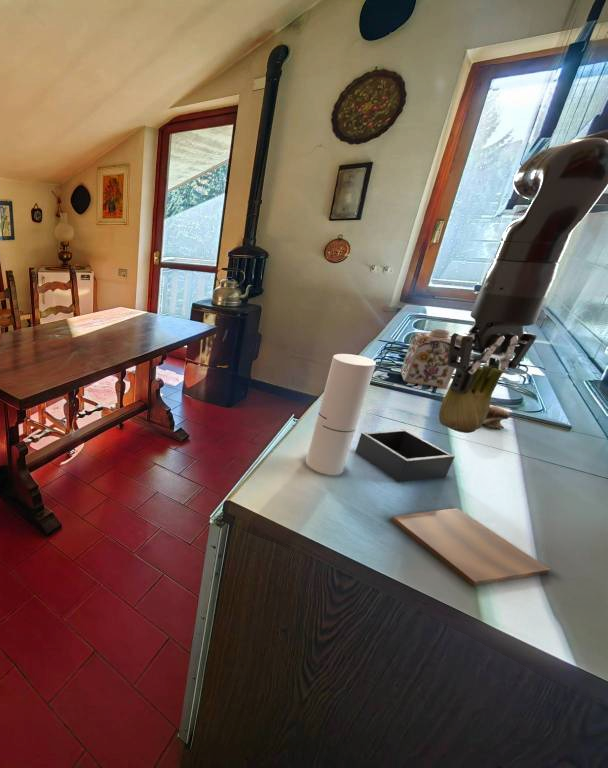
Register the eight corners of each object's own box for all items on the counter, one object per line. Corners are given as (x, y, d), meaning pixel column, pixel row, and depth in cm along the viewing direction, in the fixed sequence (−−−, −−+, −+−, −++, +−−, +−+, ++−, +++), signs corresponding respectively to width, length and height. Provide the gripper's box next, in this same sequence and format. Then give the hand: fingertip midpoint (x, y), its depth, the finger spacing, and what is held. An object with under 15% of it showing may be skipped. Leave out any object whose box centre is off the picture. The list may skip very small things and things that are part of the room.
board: (454, 513, 72) (457, 507, 72) (547, 575, 60) (550, 569, 59) (390, 521, 70) (392, 515, 69) (471, 587, 57) (475, 581, 57)
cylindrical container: (326, 456, 89) (355, 353, 80) (350, 475, 83) (385, 364, 73) (298, 459, 88) (325, 354, 78) (320, 478, 82) (352, 366, 72)
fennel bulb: (431, 425, 70) (456, 363, 66) (440, 419, 73) (464, 358, 69) (473, 439, 66) (502, 373, 62) (480, 431, 69) (509, 367, 64)
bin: (397, 449, 93) (404, 429, 90) (445, 478, 82) (454, 456, 80) (354, 453, 91) (361, 432, 89) (398, 484, 80) (407, 461, 78)
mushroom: (521, 426, 98) (512, 402, 99) (480, 431, 101) (471, 407, 103) (507, 428, 105) (499, 405, 106) (469, 432, 108) (461, 410, 110)
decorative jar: (447, 390, 127) (468, 337, 121) (403, 382, 133) (421, 331, 126) (439, 378, 137) (459, 329, 130) (399, 372, 142) (415, 324, 136)
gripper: (501, 296, 56) (457, 403, 62) (581, 294, 58) (531, 398, 64) (449, 288, 63) (415, 385, 69) (522, 287, 65) (482, 381, 71)
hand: (471, 391), depth 67 cm, fingers closed on fennel bulb, 4 cm apart
